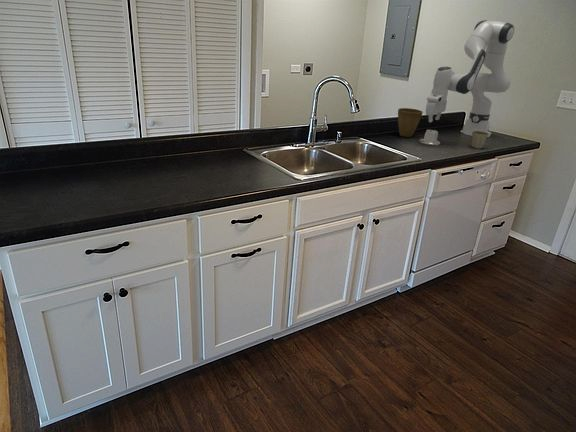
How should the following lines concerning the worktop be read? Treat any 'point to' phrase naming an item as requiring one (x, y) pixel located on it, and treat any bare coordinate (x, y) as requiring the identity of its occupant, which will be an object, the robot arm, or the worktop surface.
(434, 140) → the knob
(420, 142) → the pot lid
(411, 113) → the plant pot
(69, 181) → the worktop surface
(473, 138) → the flower pot
